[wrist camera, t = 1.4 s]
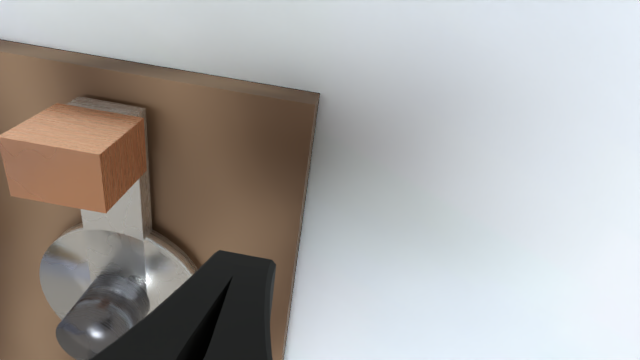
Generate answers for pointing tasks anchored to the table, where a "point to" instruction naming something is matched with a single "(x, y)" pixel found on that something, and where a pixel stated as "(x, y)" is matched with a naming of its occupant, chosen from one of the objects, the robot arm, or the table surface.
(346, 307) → the table surface
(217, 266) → the robot arm
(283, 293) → the walnut board
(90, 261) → the dial plate
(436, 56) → the table surface
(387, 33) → the table surface
